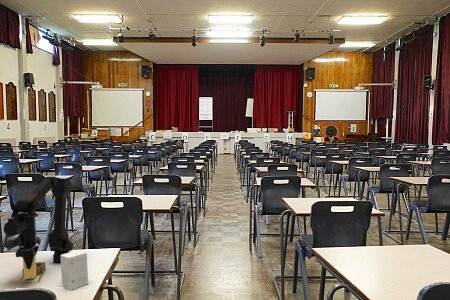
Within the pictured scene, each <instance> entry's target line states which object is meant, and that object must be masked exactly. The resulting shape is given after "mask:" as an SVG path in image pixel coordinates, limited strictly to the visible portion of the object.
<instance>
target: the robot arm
mask: <svg viewBox="0 0 450 300" xmlns="http://www.w3.org/2000/svg"><path fill="white" fill-rule="evenodd" d="M71 189H72V181H70V178H66V177H65V178H64V177H62V178H61V177H56V176H49V175H48V176H45V177H43V179H42V181H41V182H39V184H37V186H36V187H35V188H34V189H33V190H32V191H31V192H30V193H29V194H26V195H24V196H21V197H20V198H19V199H17V201H16V203H15V206H14V208H13V210H12V213H11V215H10V218H7V222H6V223H5V224H4V226H3V233H4V235H6V236H8V237H12V238H9V239H7V240H6V241H5V242H4V248H5V249H7V251H10V250H12V249H15V248H16V247H18V248H17V250H16V251H15V258H22V260H23V259H24V261H25V264H26V267H27V269H30V268H31V265H32V262H33V259H34V256H37V253H38V251H39V247H40V245H41V237H39V236H37V233H38V230H37V228H36V217H38V216H39V214H38V213H36V212H37V210H38V208H39V207H40V202H41V201H42V199H43V198H44V197H45V196H46V195H47V194H48V193H49V192H50V190H51V193H52V195H53V196H54V212H53V214H54V215H53V229H52V231H51V233H48V241H47V243H48V246H49V249H50V252H53V255H52V258H53V259H52V262H53V264H61V256H60V255H62V254H66V253H70V252H73V251H72V250H73V248H74V243H72V241H71V240H70V234H69V233H68V230H66V218H67V217H66V214H67V197H68V196H69V194H70V193H71ZM16 235H17V236H16ZM37 244H38V245H37Z"/></svg>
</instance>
